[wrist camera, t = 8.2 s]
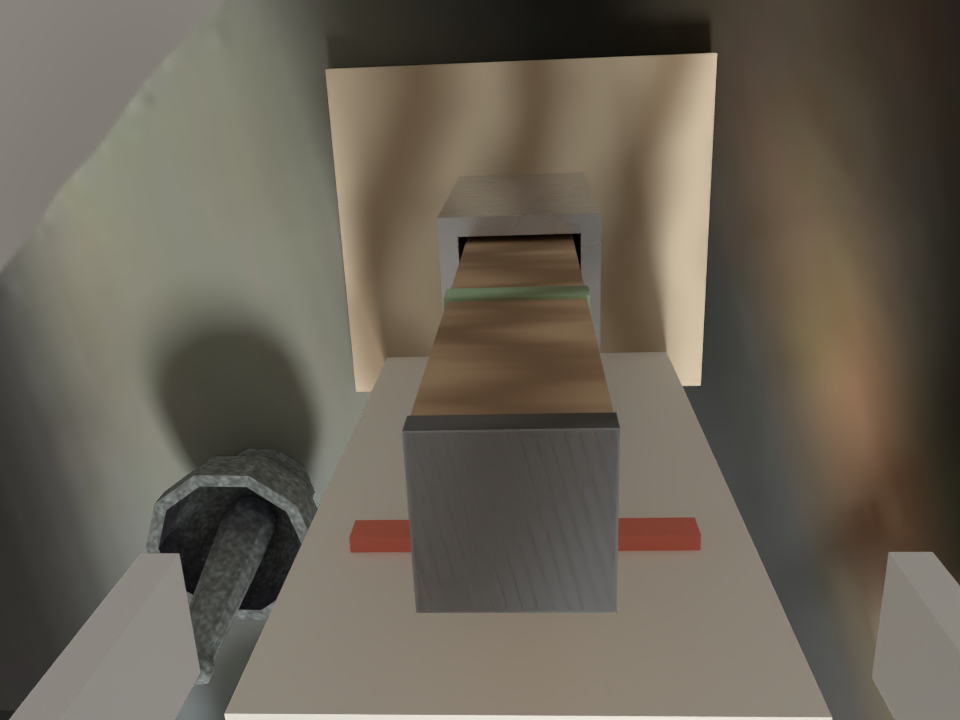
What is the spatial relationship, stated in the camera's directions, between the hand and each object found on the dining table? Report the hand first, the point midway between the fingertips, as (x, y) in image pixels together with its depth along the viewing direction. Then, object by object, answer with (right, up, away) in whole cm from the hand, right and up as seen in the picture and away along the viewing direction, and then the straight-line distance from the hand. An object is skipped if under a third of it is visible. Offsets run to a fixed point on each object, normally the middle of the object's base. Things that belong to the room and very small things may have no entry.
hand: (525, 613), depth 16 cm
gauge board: (+2, +5, +33) cm, 34 cm away
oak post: (+1, +9, +25) cm, 27 cm away
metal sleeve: (+2, +12, +31) cm, 33 cm away
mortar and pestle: (-15, -4, +39) cm, 42 cm away
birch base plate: (+2, +12, +32) cm, 35 cm away
